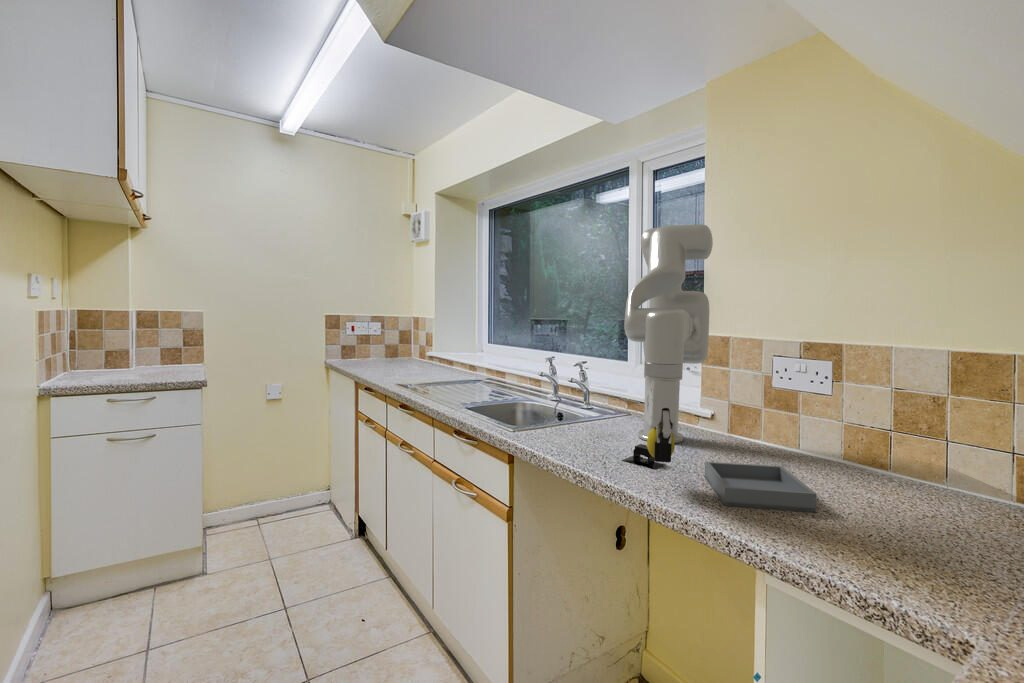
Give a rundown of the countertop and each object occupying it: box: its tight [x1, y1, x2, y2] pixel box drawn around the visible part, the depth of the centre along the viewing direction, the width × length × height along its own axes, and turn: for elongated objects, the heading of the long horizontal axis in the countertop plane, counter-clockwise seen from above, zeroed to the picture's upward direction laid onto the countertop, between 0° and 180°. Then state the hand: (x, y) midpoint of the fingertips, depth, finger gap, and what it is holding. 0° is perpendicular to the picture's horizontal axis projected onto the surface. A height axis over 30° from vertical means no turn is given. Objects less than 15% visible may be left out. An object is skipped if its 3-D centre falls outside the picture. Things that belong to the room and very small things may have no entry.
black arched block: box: [621, 443, 667, 471], centre depth 117 cm, size 12×7×5 cm, turn 44°
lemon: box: [646, 424, 676, 457], centre depth 100 cm, size 6×6×8 cm
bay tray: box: [704, 461, 817, 513], centre depth 98 cm, size 16×16×4 cm
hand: (660, 455), depth 101 cm, fingers closed on lemon, 5 cm apart
